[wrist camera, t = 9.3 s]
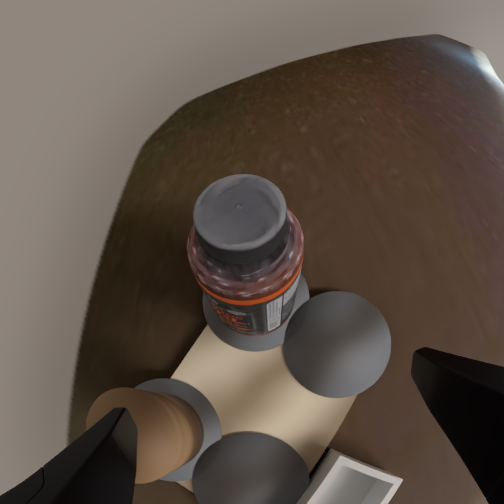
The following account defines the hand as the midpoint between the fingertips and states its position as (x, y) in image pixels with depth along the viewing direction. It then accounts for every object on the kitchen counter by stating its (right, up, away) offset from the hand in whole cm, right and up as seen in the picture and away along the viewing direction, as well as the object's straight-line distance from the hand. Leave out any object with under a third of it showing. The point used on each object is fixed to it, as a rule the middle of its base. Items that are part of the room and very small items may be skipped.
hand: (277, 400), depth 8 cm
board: (0, -6, +12) cm, 14 cm away
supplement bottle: (-1, +1, +15) cm, 15 cm away
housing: (+5, -14, +7) cm, 16 cm away
